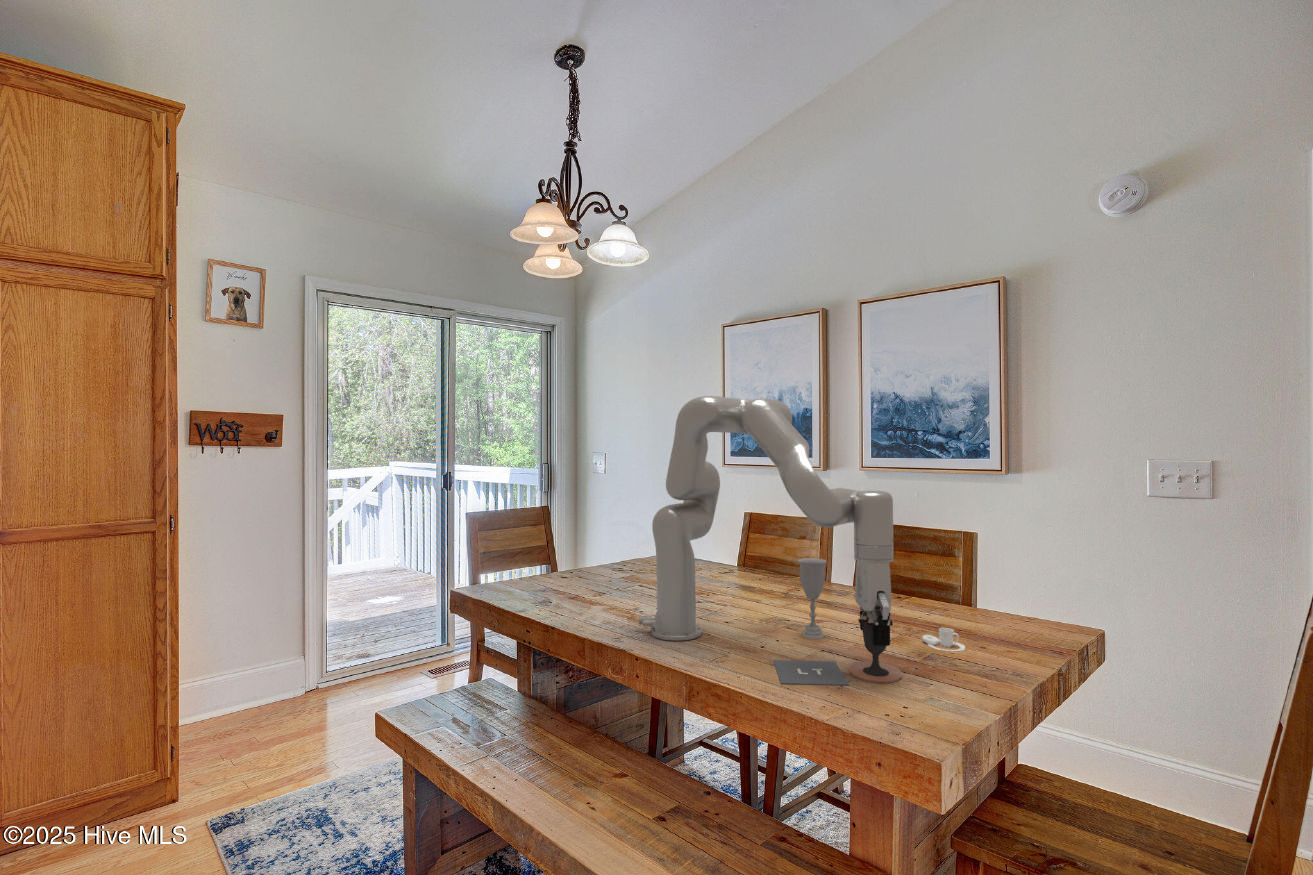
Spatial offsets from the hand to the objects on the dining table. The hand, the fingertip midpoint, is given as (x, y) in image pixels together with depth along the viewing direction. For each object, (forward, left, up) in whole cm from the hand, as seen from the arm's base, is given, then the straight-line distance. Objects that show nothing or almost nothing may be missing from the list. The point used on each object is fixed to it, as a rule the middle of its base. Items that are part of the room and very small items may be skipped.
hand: (874, 637), depth 128 cm
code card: (-13, 0, -7) cm, 15 cm away
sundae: (0, -1, -7) cm, 7 cm away
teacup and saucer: (+21, +22, -8) cm, 32 cm away
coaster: (0, 0, -7) cm, 7 cm away
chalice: (-8, +25, -7) cm, 27 cm away
